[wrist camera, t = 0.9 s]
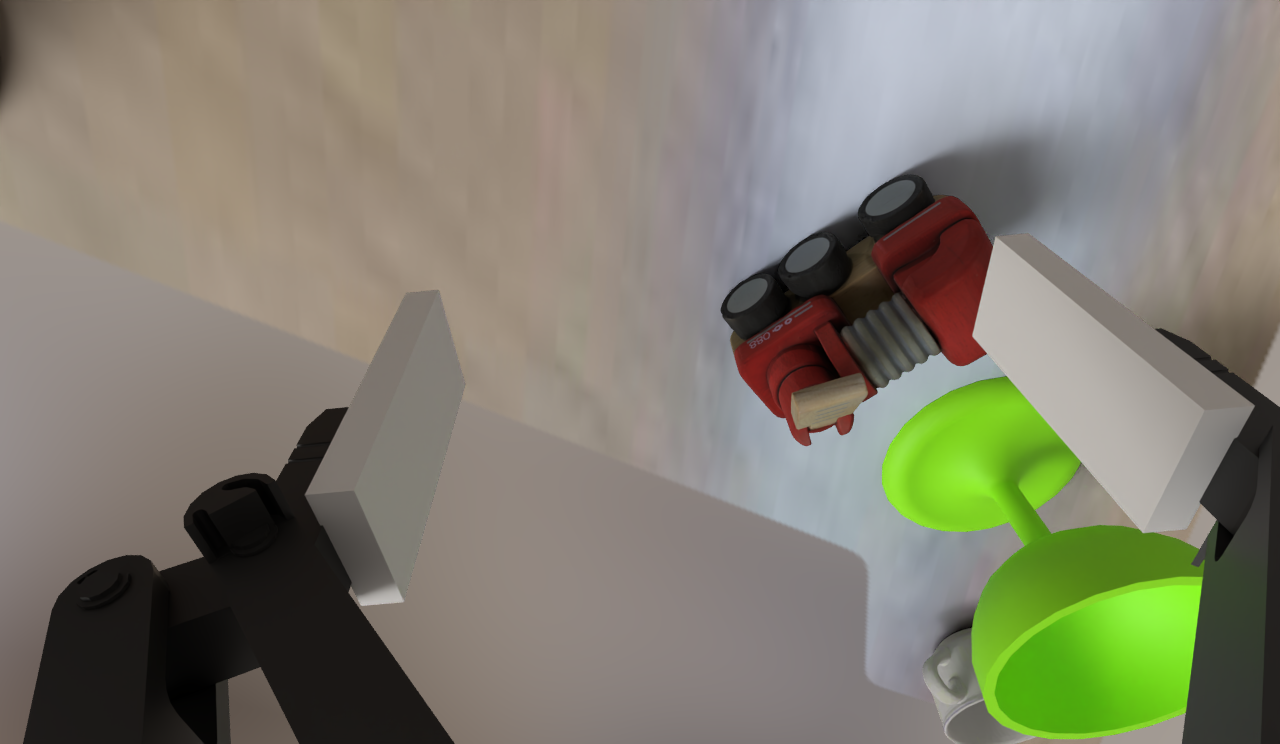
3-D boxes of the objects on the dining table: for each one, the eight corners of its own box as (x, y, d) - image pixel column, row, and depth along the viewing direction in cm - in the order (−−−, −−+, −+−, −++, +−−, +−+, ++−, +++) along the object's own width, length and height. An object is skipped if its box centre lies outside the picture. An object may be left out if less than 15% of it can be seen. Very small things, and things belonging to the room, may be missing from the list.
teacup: (1043, 640, 68) (1090, 718, 61) (953, 688, 72) (987, 766, 66) (966, 584, 63) (1008, 663, 56) (873, 639, 67) (902, 719, 60)
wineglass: (851, 517, 57) (937, 730, 42) (933, 361, 48) (1077, 561, 33) (1022, 537, 59) (1160, 746, 44) (1130, 391, 50) (1347, 591, 36)
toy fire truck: (975, 258, 44) (1156, 429, 29) (772, 382, 49) (840, 581, 34) (899, 115, 39) (1073, 238, 24) (680, 271, 44) (714, 450, 29)
